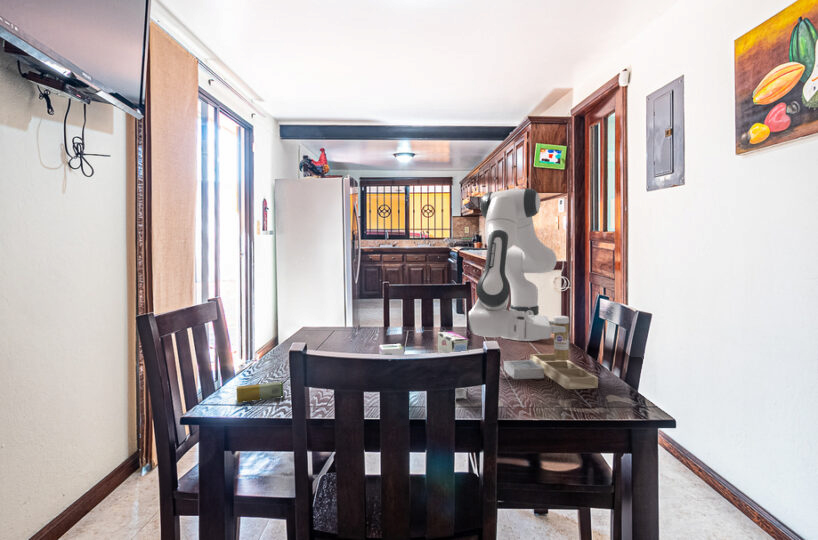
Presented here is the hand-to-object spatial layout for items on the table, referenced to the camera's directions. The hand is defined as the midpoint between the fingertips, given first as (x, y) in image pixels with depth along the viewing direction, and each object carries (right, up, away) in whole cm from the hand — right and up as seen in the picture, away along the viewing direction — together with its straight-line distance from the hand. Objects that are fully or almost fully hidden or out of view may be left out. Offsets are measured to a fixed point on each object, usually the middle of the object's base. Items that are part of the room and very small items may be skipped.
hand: (564, 327), depth 136 cm
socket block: (-12, -15, +2) cm, 20 cm away
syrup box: (-53, -17, -19) cm, 59 cm away
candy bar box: (-36, -17, -15) cm, 43 cm away
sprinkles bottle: (-1, -10, +1) cm, 10 cm away
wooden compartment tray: (-1, -15, +2) cm, 15 cm away
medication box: (-89, -17, -18) cm, 92 cm away
